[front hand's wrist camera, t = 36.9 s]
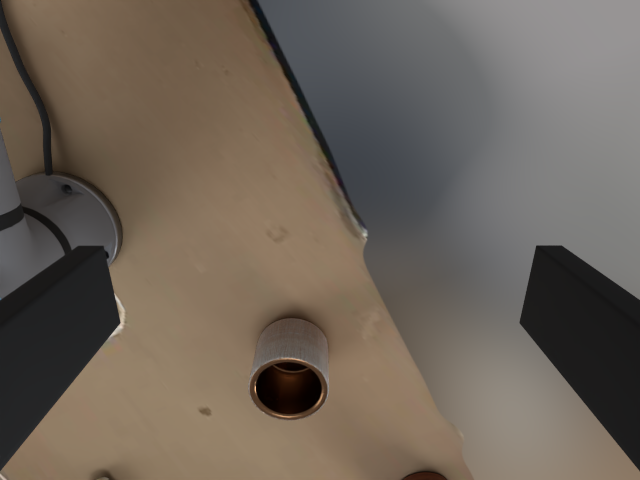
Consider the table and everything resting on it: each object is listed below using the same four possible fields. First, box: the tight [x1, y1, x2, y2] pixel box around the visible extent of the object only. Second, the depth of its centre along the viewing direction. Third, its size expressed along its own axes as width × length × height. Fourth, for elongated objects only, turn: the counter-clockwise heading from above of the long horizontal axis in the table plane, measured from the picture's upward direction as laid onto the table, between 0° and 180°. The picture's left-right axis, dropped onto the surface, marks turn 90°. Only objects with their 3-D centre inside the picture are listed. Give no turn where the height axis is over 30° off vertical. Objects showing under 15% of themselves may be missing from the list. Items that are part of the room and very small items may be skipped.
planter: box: [248, 318, 329, 420], centre depth 58 cm, size 11×11×10 cm
